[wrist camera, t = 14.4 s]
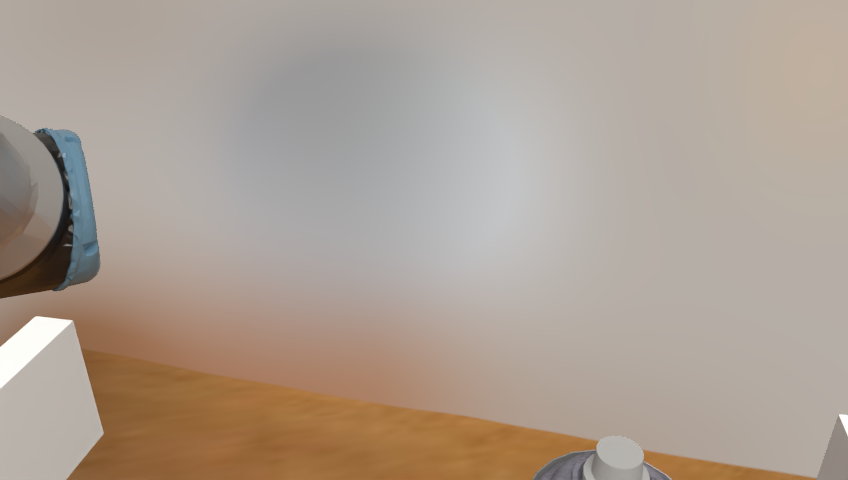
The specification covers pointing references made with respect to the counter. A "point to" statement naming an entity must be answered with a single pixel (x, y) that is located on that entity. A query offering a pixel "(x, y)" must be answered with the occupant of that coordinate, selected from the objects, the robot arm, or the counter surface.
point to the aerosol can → (602, 463)
